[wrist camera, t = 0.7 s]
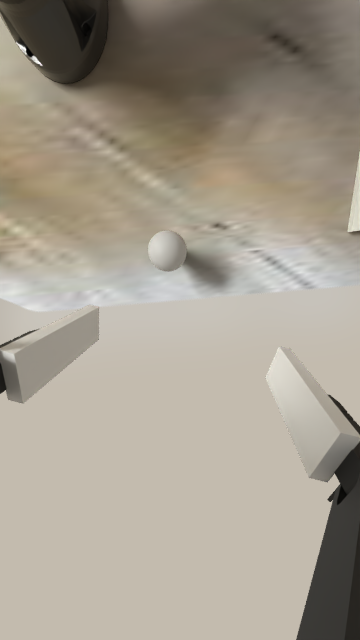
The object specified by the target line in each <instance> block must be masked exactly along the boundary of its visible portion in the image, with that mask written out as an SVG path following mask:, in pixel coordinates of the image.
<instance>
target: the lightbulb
mask: <svg viewBox="0 0 360 640" xmlns="http://www.w3.org/2000/svg"><path fill="white" fill-rule="evenodd" d="M148 255H149V258H150V261H151V262H152V264H153V265H154V266H155V267H157V268H158V269H160V270H162V271H173V270H176V269H178V268H179V267H180V266H181V265H182V264H183V263H184V261H185V259H186V255H187V248H186V244H185V242H184V240H183V238H182V237H181V236H180V235H179V234H177V233H176V232H173V231H169V230H164V231H161V232H159V233H157V234H156V235H154V236H153V238H152V239H151V241H150V243H149V246H148Z"/></svg>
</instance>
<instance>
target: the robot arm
mask: <svg viewBox="0 0 360 640" xmlns="http://www.w3.org/2000/svg"><path fill="white" fill-rule="evenodd" d="M0 16H1V18H2V20H3V21H4V23H5V25H6V26H7V28H8V30H9V32H10V33H11V35H12V37H13V38H14V40H15V42H16V44H17V45H18V46H19V48H20V49H21V51H22V52H23V53H24V55H25V56H26V57H27V58H28V59H29V60H30V61H31V62H32V63H33V64H34V66H35V67H36V68H37V69H38V70H39V71H40V72H41V73H43V74H44V75H45V76H46V77H48V78H50V79H51V80H54V81H56V82H60V83H73V82H76V81H79V80H81V79H82V78H84V77H85V76H86V75H87V74H88V73H90V71H91V70H92V69H93V68H94V66H95V65H96V63H97V61H98V60H99V58H100V55H101V53H102V50H103V47H104V44H105V40H106V34H107V27H108V5H107V0H0ZM97 340H99V307H97V306H92V305H88V306H86V307H84V308H82V309H80V310H78V311H76V312H74V313H72V314H70V315H67V316H65V317H63V318H61V319H59V320H57V321H55V322H53V323H51V324H49V325H47V326H45V327H43V328H41V329H37V330H34V331H30V332H27V333H25V334H23V335H21V336H20V337H17V338H15V339H13V340H10V341H9V342H6V343H4V344H2V345H0V394H1V393H2V392H4V391H5V390H6V392H7V396H8V400H11V401H15V402H19V403H24V402H26V401H27V400H28V399H29V398H30V397H31V396H33V395H34V394H35V393H36V392H37V391H38V390H40V389H41V388H42V387H43V386H44V385H46V384H47V383H48V382H49V381H50V380H52V379H53V378H54V377H55V376H56V375H57V374H59V373H60V372H61V371H62V370H63V369H65V368H66V367H67V366H68V365H69V364H70V363H72V362H73V361H74V360H75V359H76V358H78V357H79V356H80V355H81V354H82V353H83V352H85V351H86V350H87V349H88V348H89V347H90V346H91V345H93V344H94V343H95V342H96V341H97ZM266 380H267V383H268V385H269V387H270V389H271V392H272V394H273V396H274V399H275V401H276V403H277V405H278V408H279V410H280V412H281V414H282V417H283V419H284V422H285V424H286V426H287V428H288V431H289V433H290V435H291V438H292V440H293V442H294V444H295V446H296V449H297V451H298V454H299V456H300V458H301V461H302V463H303V465H304V467H305V470H306V472H307V474H308V476H309V478H313V479H317V480H321V481H324V482H328V481H329V480H330V478H331V477H332V476H333V475H334V473H335V475H336V476H337V478H338V480H339V482H340V485H339V486H338V487H337V488H336V490H335V491H334V492H333V494H332V495H331V496H330V497H329V498H328V501H329V502H331V501H332V500H333V502H332V506H331V510H330V514H329V518H328V521H327V525H326V529H325V533H324V537H323V540H322V545H321V548H320V552H319V555H318V559H317V563H316V567H315V571H314V574H313V578H312V582H311V586H310V590H309V593H308V597H307V601H306V605H305V609H304V612H303V616H302V620H301V624H300V628H299V631H298V635H297V639H296V640H360V426H359V425H358V424H357V423H356V422H355V421H353V418H352V417H351V416H350V415H349V414H348V413H347V411H346V410H345V409H344V407H343V406H342V405H341V404H340V403H339V402H338V401H337V400H335V399H334V398H333V397H331V395H327V394H326V392H325V391H324V390H323V389H322V388H321V386H320V385H319V384H318V382H317V381H316V380H315V379H314V377H312V375H311V374H310V372H309V371H308V370H307V369H306V368H305V366H304V365H303V364H302V363H301V362H300V360H299V359H298V358H297V356H296V355H295V354H294V353H293V352H292V350H291V349H289V348H285V347H280V346H279V348H278V350H277V352H276V355H275V357H274V359H273V362H272V364H271V366H270V369H269V371H268V373H267V376H266Z"/></svg>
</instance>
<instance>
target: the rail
mask: <svg viewBox="0 0 360 640" xmlns="http://www.w3.org/2000/svg"><path fill="white" fill-rule="evenodd" d="M352 231H360V153H359V160H358V166H357V173H356V179H355V186H354V192H353V199H352V205H351V212H350V218H349V225H348V231H347V232H352Z"/></svg>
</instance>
